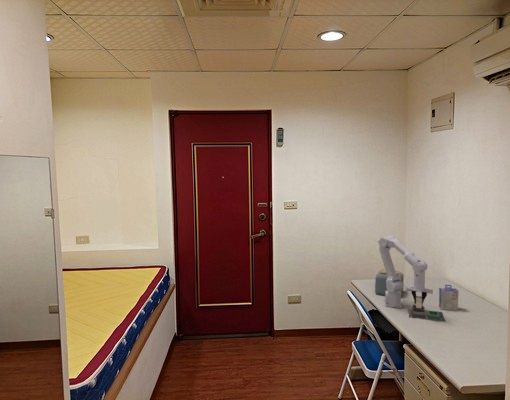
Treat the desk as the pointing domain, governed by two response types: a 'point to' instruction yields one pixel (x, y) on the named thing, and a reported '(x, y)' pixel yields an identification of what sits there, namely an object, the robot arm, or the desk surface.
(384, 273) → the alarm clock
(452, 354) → the desk surface
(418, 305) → the plug
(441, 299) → the ink cartridge box
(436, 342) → the desk surface
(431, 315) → the jack panel
